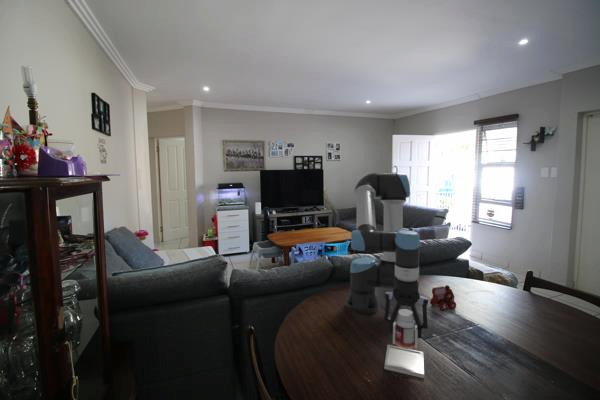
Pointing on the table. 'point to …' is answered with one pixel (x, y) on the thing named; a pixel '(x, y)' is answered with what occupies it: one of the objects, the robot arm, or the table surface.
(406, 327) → the pill bottle
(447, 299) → the toy fire truck
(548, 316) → the table surface
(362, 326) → the table surface
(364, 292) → the robot arm
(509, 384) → the table surface
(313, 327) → the table surface
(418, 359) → the coaster
